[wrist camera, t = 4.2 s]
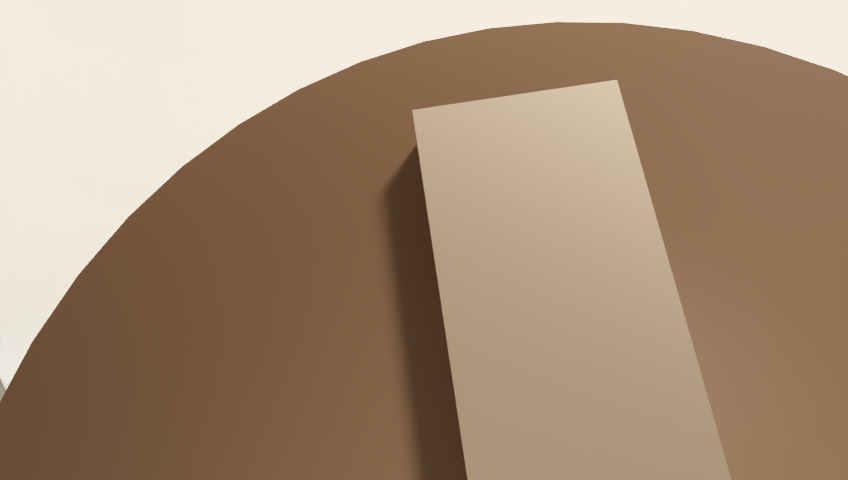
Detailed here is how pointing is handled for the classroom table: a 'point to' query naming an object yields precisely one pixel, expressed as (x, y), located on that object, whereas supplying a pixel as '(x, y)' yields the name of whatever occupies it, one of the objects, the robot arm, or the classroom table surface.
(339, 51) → the classroom table surface
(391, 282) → the knob
